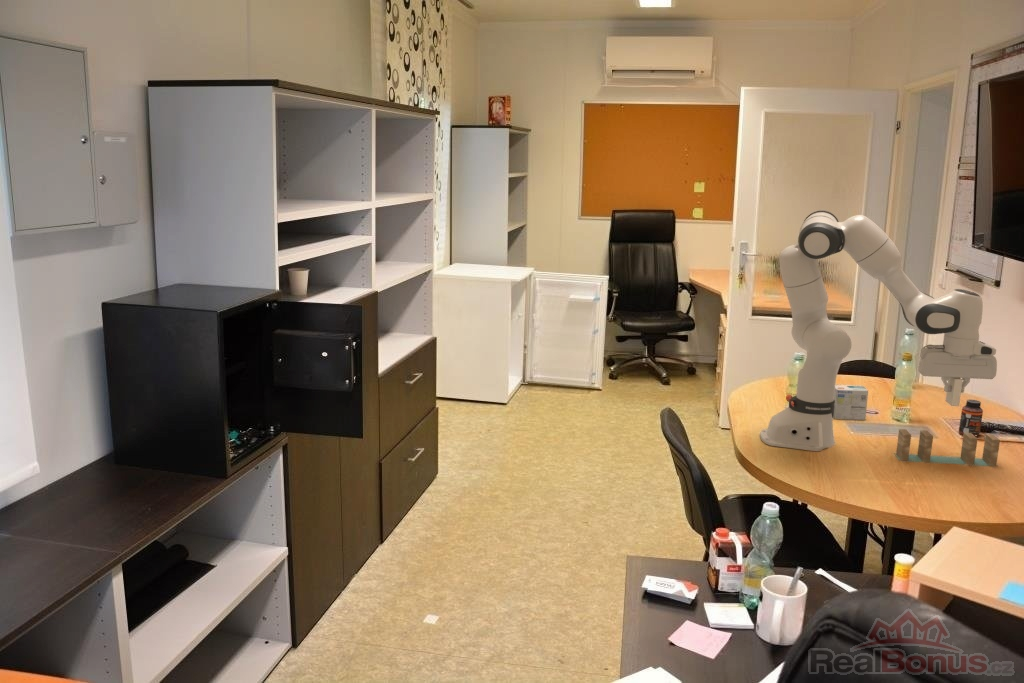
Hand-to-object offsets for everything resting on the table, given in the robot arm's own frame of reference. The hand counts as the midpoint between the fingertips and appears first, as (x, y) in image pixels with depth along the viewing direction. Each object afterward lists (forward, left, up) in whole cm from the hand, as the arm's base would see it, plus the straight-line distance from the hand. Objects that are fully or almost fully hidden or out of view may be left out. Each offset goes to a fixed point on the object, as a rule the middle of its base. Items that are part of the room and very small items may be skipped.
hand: (953, 391), depth 236 cm
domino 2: (-7, -2, -21) cm, 22 cm away
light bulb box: (-20, +37, -21) cm, 47 cm away
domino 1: (-13, -2, -21) cm, 24 cm away
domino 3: (0, 0, -4) cm, 4 cm away
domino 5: (+11, -2, -21) cm, 24 cm away
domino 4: (+5, -2, -21) cm, 21 cm away
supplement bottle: (+15, +25, -21) cm, 36 cm away
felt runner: (-1, -2, -21) cm, 21 cm away
